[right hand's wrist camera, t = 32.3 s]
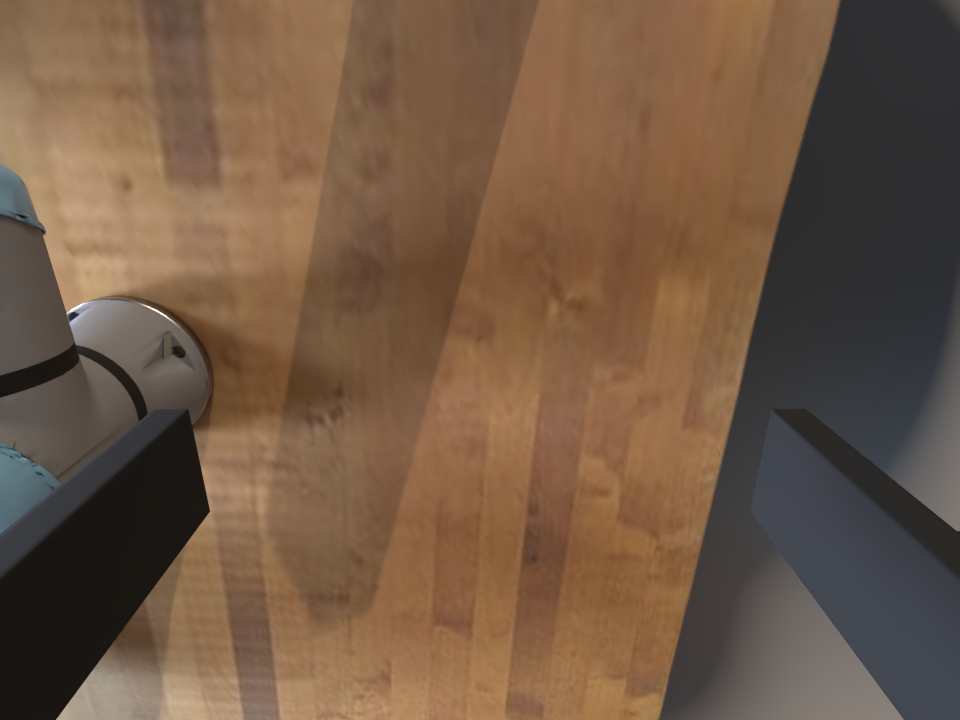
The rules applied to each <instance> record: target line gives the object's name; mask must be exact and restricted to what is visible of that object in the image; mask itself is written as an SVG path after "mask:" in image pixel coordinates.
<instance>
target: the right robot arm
mask: <svg viewBox="0 0 960 720" xmlns="http://www.w3.org/2000/svg"><path fill="white" fill-rule="evenodd" d="M45 234H46V230H45V228H44V226H43V225H42V224H41V223H40V222H39V221H38V218H37V215H36V212H35V209H34V207H33V204H32V201H31V198H30V195H29V193H28V190H27V187H26V185H25V184H24V182H23V181H22V179H21V178H20V177H19V176H18V175H16V174H15V173H14V172H13V171H11V170H10V169H8V168H6V167H4V166H2V165H0V720H56V719H57V717H58V716H59V715H60V713H61V712H62V711H63V709H64V708H65V707H66V705H67V704H68V703H69V701H70V700H71V698H72V697H73V696H74V694H75V693H76V692H77V690H78V689H79V688H80V686H81V685H82V684H83V682H84V681H85V680H86V678H87V677H88V676H89V674H90V673H91V671H92V670H93V669H94V667H95V666H96V665H97V663H98V662H99V661H100V659H101V658H102V657H103V655H104V654H105V653H106V651H107V650H108V648H109V647H110V646H111V644H112V643H113V642H114V640H115V639H116V638H117V636H118V635H119V634H120V632H121V631H122V630H123V628H124V627H125V625H126V624H127V623H128V621H129V620H130V619H131V617H132V616H133V615H134V613H135V612H136V611H137V609H138V608H139V607H140V605H141V604H142V603H143V601H144V600H145V598H146V597H147V596H148V594H149V593H150V592H151V590H152V589H153V588H154V586H155V585H156V584H157V582H158V581H159V580H160V578H161V577H162V575H163V574H164V573H165V571H166V570H167V569H168V567H169V566H170V565H171V563H172V562H173V561H174V559H175V558H176V557H177V555H178V554H179V552H180V551H181V550H182V548H183V547H184V546H185V544H186V543H187V542H188V540H189V539H190V538H191V536H192V535H193V534H194V532H195V531H196V529H197V528H198V527H199V525H200V524H201V523H202V521H203V520H204V519H205V517H206V516H207V515H208V513H209V512H210V509H209V505H208V500H207V495H206V490H205V485H204V481H203V476H202V471H201V466H200V461H199V457H198V452H197V447H196V442H195V437H194V433H193V428H192V425H193V424H194V423H195V422H196V421H197V420H198V419H199V418H200V417H201V416H202V414H203V413H204V412H205V410H206V408H207V406H208V404H209V402H210V399H211V395H212V390H213V373H212V367H211V364H210V360H209V358H208V355H207V353H206V351H205V349H204V347H203V345H202V343H201V342H200V340H199V339H198V337H197V336H196V335H195V333H194V332H193V331H192V330H191V329H190V328H189V327H188V326H187V325H186V324H185V323H184V322H183V321H182V320H181V319H179V318H178V317H177V316H176V315H174V314H173V313H171V312H170V311H168V310H166V309H165V308H163V307H161V306H159V305H157V304H155V303H152V302H149V301H147V300H143V299H140V298H135V297H129V296H107V297H102V298H98V299H94V300H92V301H89V302H87V303H84V304H82V305H79V306H77V307H76V308H74V309H72V310H71V311H69V312H68V313H66V310H65V307H64V304H63V300H62V297H61V294H60V291H59V287H58V284H57V281H56V278H55V274H54V271H53V268H52V264H51V261H50V258H49V255H48V251H47V248H46V245H45V241H44V238H43V235H45ZM750 512H751V513H752V515H753V516H754V517H755V519H756V520H757V521H758V523H759V524H760V525H761V527H762V528H763V529H764V531H765V532H766V534H767V535H768V536H769V538H770V539H771V540H772V542H773V543H774V544H775V546H776V547H777V548H778V550H779V551H780V552H781V554H782V555H783V557H784V558H785V559H786V561H787V562H788V563H789V565H790V566H791V567H792V569H793V570H794V571H795V573H796V574H797V575H798V577H799V578H800V580H801V581H802V582H803V584H804V585H805V586H806V588H807V589H808V590H809V592H810V593H811V594H812V596H813V597H814V598H815V600H816V601H817V602H818V604H819V605H820V607H821V608H822V609H823V611H824V612H825V613H826V615H827V616H828V617H829V619H830V620H831V621H832V623H833V624H834V625H835V627H836V628H837V630H838V631H839V632H840V634H841V635H842V636H843V638H844V639H845V640H846V642H847V643H848V644H849V646H850V647H851V648H852V650H853V651H854V652H855V654H856V655H857V657H858V658H859V659H860V661H861V662H862V663H863V665H864V666H865V667H866V669H867V670H868V671H869V673H870V674H871V676H872V677H873V678H874V680H875V681H876V682H877V683H878V685H879V686H880V688H881V689H882V690H883V692H884V693H885V694H886V696H887V697H888V698H889V700H890V701H891V703H892V704H893V705H894V707H895V708H896V709H897V711H898V712H899V713H900V715H901V716H902V717H903V719H904V720H960V531H956V530H955V529H953V528H952V527H951V526H950V525H948V524H947V523H946V522H945V521H943V520H942V519H941V518H940V517H938V516H937V515H936V514H935V513H933V512H932V511H931V510H930V509H929V508H927V507H926V506H925V505H924V504H922V503H921V502H920V501H919V500H917V499H916V498H915V497H914V496H912V495H911V494H910V493H909V492H908V491H906V490H905V489H904V488H903V487H901V486H900V485H899V484H898V483H896V482H895V481H894V480H893V479H891V478H890V477H889V476H888V475H886V474H885V473H884V472H883V471H882V470H880V469H879V468H878V467H877V466H875V465H874V464H873V463H872V462H870V461H869V460H868V459H867V458H865V457H864V456H863V455H862V454H860V453H859V452H858V451H857V450H856V449H854V448H853V447H852V446H851V445H849V444H848V443H847V442H846V441H844V440H843V439H842V438H841V437H839V436H838V435H837V434H836V433H834V432H833V431H832V430H831V429H830V428H828V427H827V426H826V425H825V424H823V423H822V422H821V421H820V420H818V419H817V418H816V417H815V416H813V415H812V414H811V413H810V412H808V411H807V410H806V409H771V413H770V418H769V423H768V428H767V433H766V438H765V442H764V447H763V452H762V457H761V461H760V466H759V471H758V476H757V481H756V485H755V490H754V495H753V500H752V505H751V509H750Z"/></svg>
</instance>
